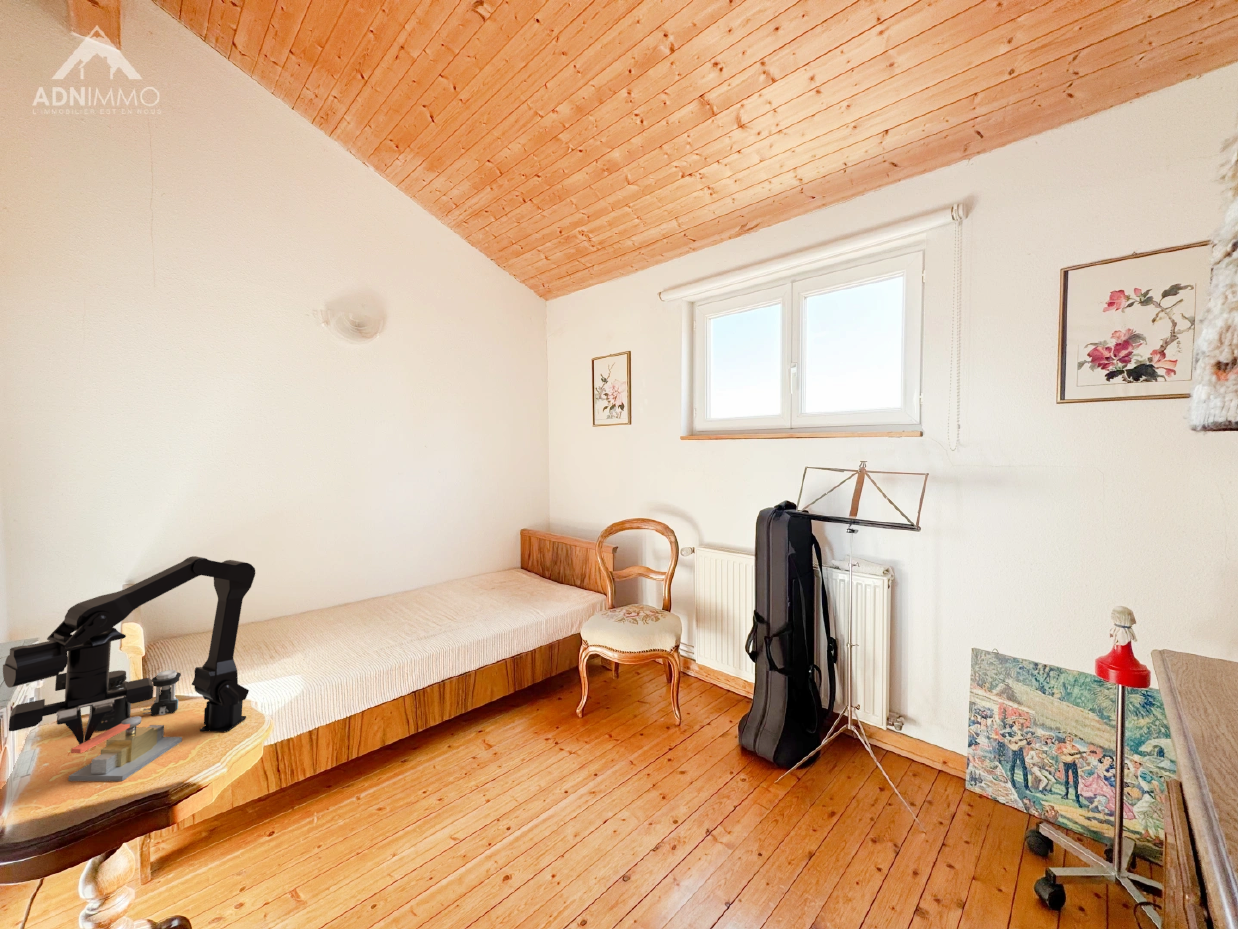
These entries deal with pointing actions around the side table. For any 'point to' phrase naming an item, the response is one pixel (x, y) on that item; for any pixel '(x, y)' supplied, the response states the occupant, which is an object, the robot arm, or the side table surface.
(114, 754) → the valve
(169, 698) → the push button
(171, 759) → the side table surface
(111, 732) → the lever
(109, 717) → the supplement bottle
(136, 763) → the board
